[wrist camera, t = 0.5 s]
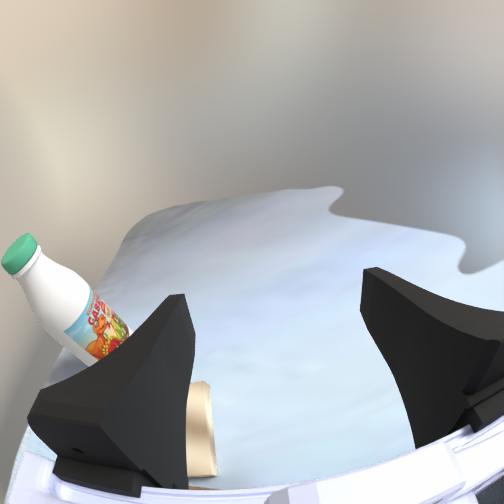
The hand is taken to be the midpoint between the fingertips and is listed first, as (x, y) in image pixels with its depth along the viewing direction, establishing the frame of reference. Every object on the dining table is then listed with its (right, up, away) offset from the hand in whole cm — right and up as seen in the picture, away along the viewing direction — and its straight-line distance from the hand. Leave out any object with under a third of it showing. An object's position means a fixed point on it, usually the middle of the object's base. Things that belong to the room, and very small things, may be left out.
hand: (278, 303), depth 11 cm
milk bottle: (-19, -12, +23) cm, 32 cm away
